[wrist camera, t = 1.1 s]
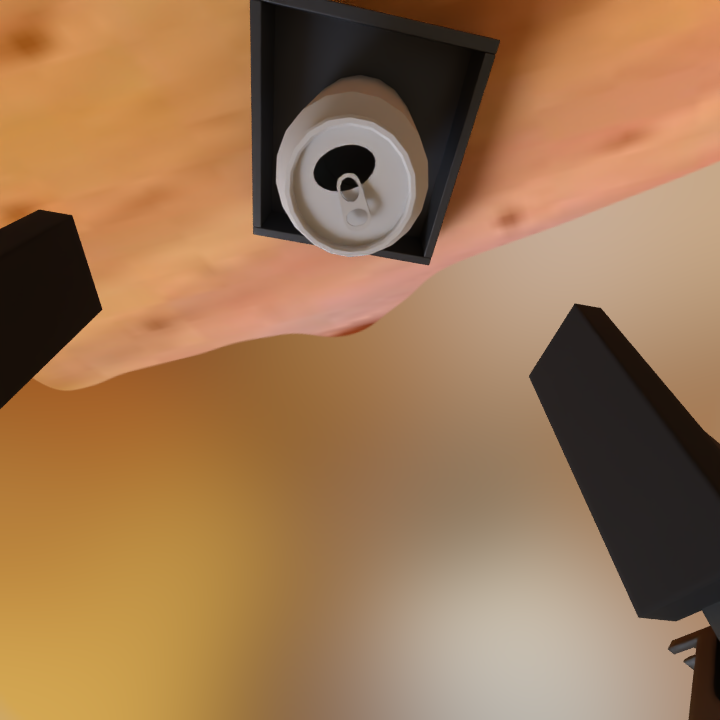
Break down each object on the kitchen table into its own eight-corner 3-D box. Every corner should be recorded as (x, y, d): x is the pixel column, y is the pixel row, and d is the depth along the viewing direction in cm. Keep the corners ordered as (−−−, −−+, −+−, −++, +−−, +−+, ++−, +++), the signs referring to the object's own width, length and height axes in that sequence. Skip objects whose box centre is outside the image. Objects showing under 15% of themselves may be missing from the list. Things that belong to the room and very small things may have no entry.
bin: (266, -12, 22) (249, -19, 19) (485, 39, 23) (500, 40, 20) (264, 215, 30) (253, 234, 27) (424, 244, 31) (429, 265, 28)
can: (400, 55, 23) (414, 66, 14) (422, 180, 28) (444, 249, 19) (288, 97, 25) (237, 131, 16) (327, 208, 29) (304, 285, 20)
